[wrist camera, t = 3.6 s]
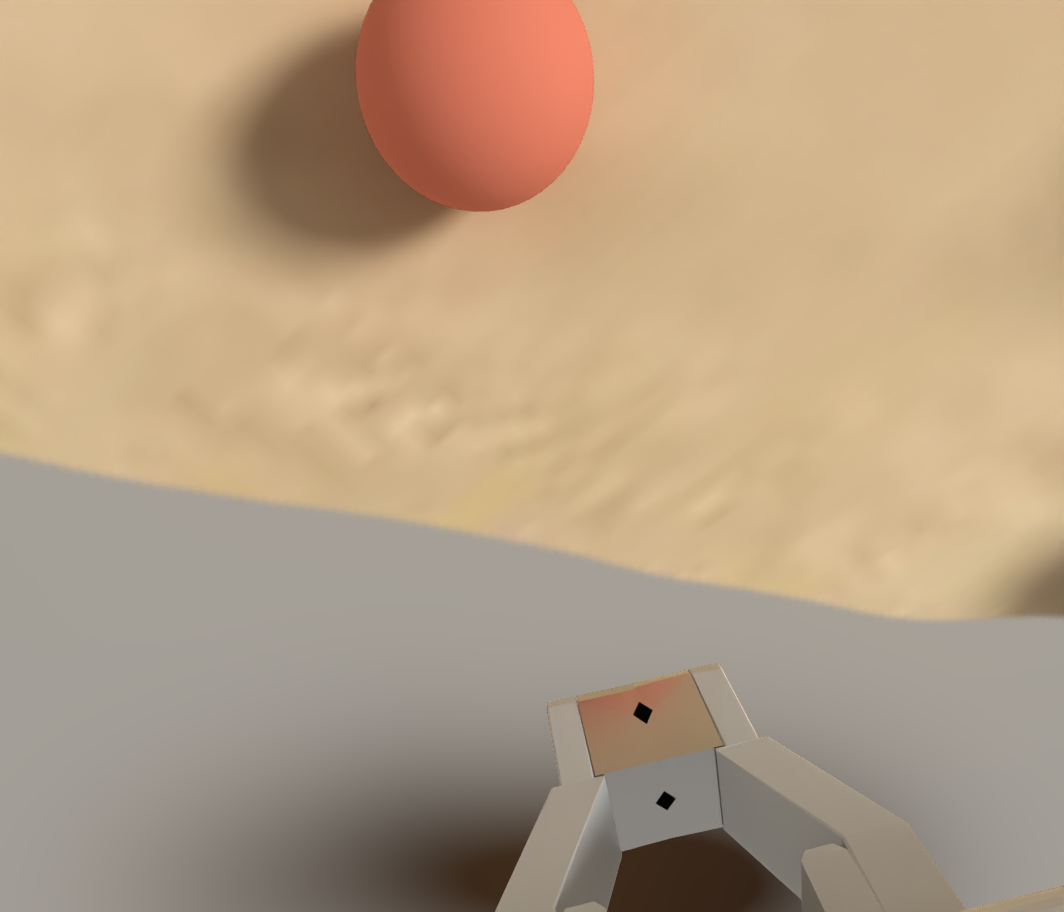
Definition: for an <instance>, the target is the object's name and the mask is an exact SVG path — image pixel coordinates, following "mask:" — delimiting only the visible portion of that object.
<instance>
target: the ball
mask: <svg viewBox="0 0 1064 912" xmlns="http://www.w3.org/2000/svg"><path fill="white" fill-rule="evenodd" d="M356 85H357V95H358V99H359V104H360V108H361V112H362V115H363V118H364V121H365V124H366V127H367V130H368V132H369V134H370V136H371V138H372V140H373V142H374V144H375V146H376V147H377V149H378V151H379V152H380V154H381V155H382V157H383V159H384V160H385V161H386V162H387V164H388V165H389V166H390V167H391V169H392V170H393V171H394V172H395V173H396V174H397V175H398V176H399V177H400V178H401V179H402V180H403V181H404V182H405V183H406V184H408V185H409V186H410V187H412V188H413V189H414V190H415V191H417V192H418V193H420V194H422V195H423V196H425V197H427V198H429V199H430V200H432V201H435V202H437V203H439V204H442V205H444V206H448V207H451V208H455V209H459V210H466V211H474V212H476V211H494V210H501V209H505V208H508V207H512V206H515V205H518V204H520V203H522V202H524V201H526V200H529V199H530V198H532V197H534V196H535V195H537V194H538V193H540V192H542V191H543V190H544V189H545V188H547V187H548V186H549V185H550V184H551V183H553V182H554V181H555V179H556V178H557V177H558V176H559V175H560V174H561V173H562V172H563V171H564V170H565V168H566V167H567V165H568V164H569V163H570V161H571V160H572V158H573V157H574V155H575V153H576V151H577V149H578V148H579V146H580V144H581V141H582V139H583V136H584V134H585V131H586V129H587V125H588V121H589V118H590V114H591V109H592V102H593V94H594V70H593V59H592V53H591V48H590V43H589V40H588V36H587V33H586V30H585V27H584V24H583V22H582V20H581V18H580V15H579V13H578V11H577V9H576V7H575V5H574V4H573V2H572V0H373V1H372V3H371V4H370V7H369V9H368V11H367V14H366V16H365V19H364V21H363V24H362V28H361V32H360V36H359V39H358V46H357V54H356Z"/></svg>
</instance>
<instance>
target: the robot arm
mask: <svg viewBox="0 0 1064 912" xmlns="http://www.w3.org/2000/svg"><path fill="white" fill-rule="evenodd" d="M576 698H577V701H576ZM577 703H578V705H577ZM578 707H579V709H578ZM579 712H580V713H579ZM547 714H548V720H549V725H550V730H551V736H552V742H553V748H554V753H555V759H556V765H557V771H558V776H559V782H560V786H558V787H554V788H552V789H551V791H550V793H549V795H548V797H547V799H546V802H545V804H544V806H543V808H542V811H541V813H540V815H539V817H538V819H537V821H536V824H535V826H534V828H533V830H532V832H531V835H530V837H529V839H528V841H527V843H526V846H525V847H524V850H523V852H522V854H521V856H520V859H519V861H518V863H517V865H516V867H515V869H514V872H513V874H512V876H511V878H510V880H509V883H508V885H507V887H506V889H505V891H504V894H503V896H502V898H501V900H500V902H499V904H498V907H497V909H496V911H495V912H607V908H608V905H609V901H610V897H611V893H612V890H613V886H614V882H615V879H616V875H617V872H618V868H619V864H620V860H621V856H622V853H621V852H622V851H625V850H629V849H633V848H636V847H640V846H643V845H647V844H651V843H654V842H658V841H662V840H665V839H669V838H673V837H677V836H682V835H687V834H692V833H696V832H702V831H706V830H711V829H715V828H720V827H724V830H725V831H726V832H727V833H728V834H729V835H731V836H732V837H733V838H734V839H735V840H736V841H737V842H738V843H739V844H741V845H742V846H743V847H744V848H745V849H746V850H747V851H748V852H749V853H751V854H752V855H753V856H754V857H755V858H756V859H757V860H758V861H759V862H761V863H762V864H763V865H764V866H765V867H766V868H767V869H768V870H769V871H770V872H772V873H773V874H774V875H775V876H776V877H777V878H778V879H779V880H780V881H781V882H783V883H784V884H785V885H786V886H787V887H788V888H789V889H790V890H791V891H793V892H794V893H795V894H796V895H797V896H798V897H799V898H800V899H802V912H1064V886H1060V887H1056V888H1052V889H1048V890H1044V891H1040V892H1036V893H1032V894H1028V895H1024V896H1020V897H1016V898H1011V899H1007V900H1003V901H999V902H995V903H992V904H988V905H983V906H979V907H975V908H971V909H967V910H966V909H965V908H964V906H963V905H962V903H961V902H960V900H959V899H958V897H957V896H956V894H955V893H954V891H953V890H952V888H951V887H950V885H949V884H948V882H947V881H946V879H945V878H944V876H943V875H942V873H941V872H940V870H939V869H938V867H937V866H936V864H935V863H934V862H933V860H932V858H931V857H930V856H929V854H928V853H927V851H926V850H925V848H924V847H923V845H922V844H921V842H920V841H919V839H918V838H917V836H916V835H915V833H914V832H913V830H912V829H911V827H910V826H909V824H908V823H907V822H905V821H903V820H902V819H900V818H899V817H897V816H895V815H894V814H892V813H891V812H889V811H887V810H886V809H884V808H882V807H881V806H879V805H878V804H876V803H874V802H873V801H871V800H869V799H868V798H866V797H865V796H863V795H861V794H860V793H858V792H856V791H855V790H853V789H852V788H850V787H848V786H847V785H845V784H843V783H842V782H840V781H839V780H837V779H836V778H834V777H832V776H831V775H829V774H827V773H826V772H824V771H823V770H821V769H819V768H818V767H816V766H815V765H813V764H811V763H810V762H808V761H807V760H805V759H803V758H802V757H800V756H798V755H797V754H795V753H794V752H792V751H790V750H789V749H787V748H785V747H784V746H782V745H781V744H779V743H777V742H776V741H774V740H772V739H771V738H769V737H762V738H758V736H757V734H756V732H755V730H754V728H753V726H752V724H751V723H750V721H749V719H748V717H747V715H746V713H745V711H744V709H743V707H742V705H741V704H740V702H739V700H738V698H737V696H736V694H735V692H734V690H733V688H732V687H731V685H730V683H729V681H728V679H727V677H726V675H725V673H724V671H723V669H722V667H721V666H720V665H719V664H717V663H713V664H709V665H705V666H701V667H697V668H693V669H689V670H688V671H687V670H684V671H680V672H676V673H672V674H668V675H664V676H660V677H656V678H652V679H648V680H644V681H640V682H636V683H632V684H630V685H625V686H621V687H616V688H611V689H607V690H602V691H597V692H592V693H587V694H583V695H578V696H576V697H571V698H567V699H562V700H557V701H552V702H547ZM580 716H581V717H580ZM582 725H583V726H582ZM583 729H584V730H583Z"/></svg>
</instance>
